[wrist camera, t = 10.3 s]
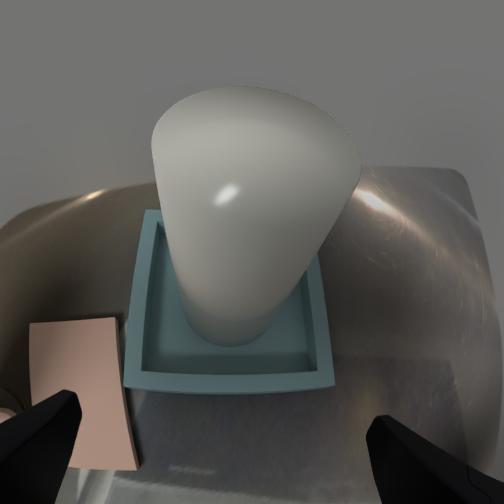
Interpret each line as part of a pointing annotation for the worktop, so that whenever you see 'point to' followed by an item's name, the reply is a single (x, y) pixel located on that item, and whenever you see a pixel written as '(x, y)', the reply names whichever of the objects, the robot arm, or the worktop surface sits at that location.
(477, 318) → the worktop surface
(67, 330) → the plate
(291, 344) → the tray
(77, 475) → the worktop surface
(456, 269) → the worktop surface
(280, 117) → the frosted white cylinder
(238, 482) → the worktop surface
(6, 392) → the beer glass
